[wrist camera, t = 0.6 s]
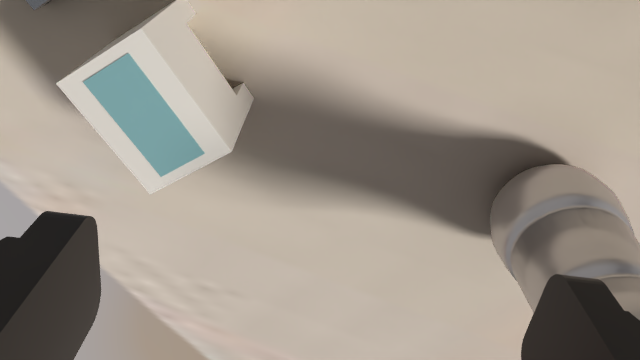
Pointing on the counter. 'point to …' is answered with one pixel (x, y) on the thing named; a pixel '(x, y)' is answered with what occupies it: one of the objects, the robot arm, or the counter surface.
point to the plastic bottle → (565, 233)
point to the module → (159, 99)
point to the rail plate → (37, 3)
